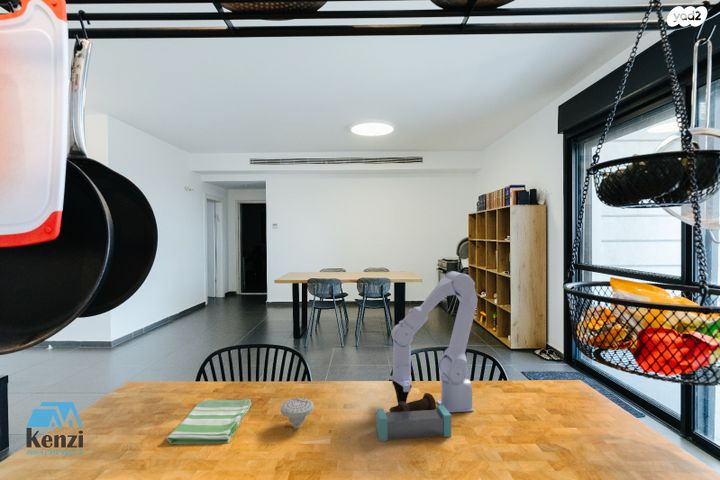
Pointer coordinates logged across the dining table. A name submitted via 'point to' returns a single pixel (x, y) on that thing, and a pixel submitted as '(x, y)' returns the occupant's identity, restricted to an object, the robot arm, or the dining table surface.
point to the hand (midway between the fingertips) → (401, 404)
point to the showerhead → (297, 410)
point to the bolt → (416, 404)
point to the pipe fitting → (413, 424)
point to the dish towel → (210, 422)
